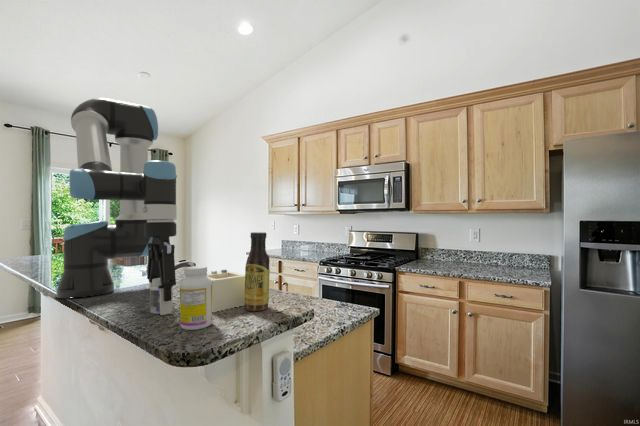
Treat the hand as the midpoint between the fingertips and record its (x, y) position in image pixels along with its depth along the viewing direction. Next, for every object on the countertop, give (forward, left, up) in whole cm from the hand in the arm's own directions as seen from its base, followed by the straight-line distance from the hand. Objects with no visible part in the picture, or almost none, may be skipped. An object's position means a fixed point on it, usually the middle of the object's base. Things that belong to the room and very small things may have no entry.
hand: (160, 310), depth 83 cm
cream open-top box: (+6, +14, 0) cm, 15 cm away
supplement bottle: (+18, +2, 0) cm, 18 cm away
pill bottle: (0, 0, 0) cm, 0 cm away
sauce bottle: (+16, +19, 0) cm, 25 cm away
